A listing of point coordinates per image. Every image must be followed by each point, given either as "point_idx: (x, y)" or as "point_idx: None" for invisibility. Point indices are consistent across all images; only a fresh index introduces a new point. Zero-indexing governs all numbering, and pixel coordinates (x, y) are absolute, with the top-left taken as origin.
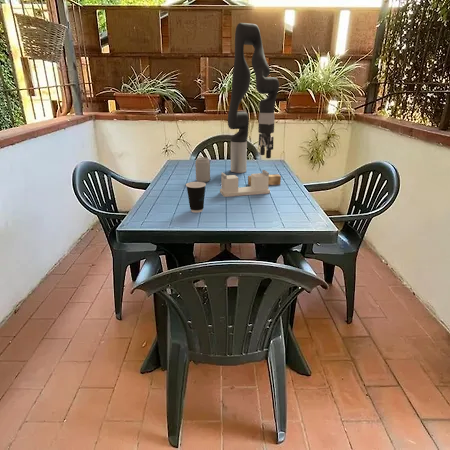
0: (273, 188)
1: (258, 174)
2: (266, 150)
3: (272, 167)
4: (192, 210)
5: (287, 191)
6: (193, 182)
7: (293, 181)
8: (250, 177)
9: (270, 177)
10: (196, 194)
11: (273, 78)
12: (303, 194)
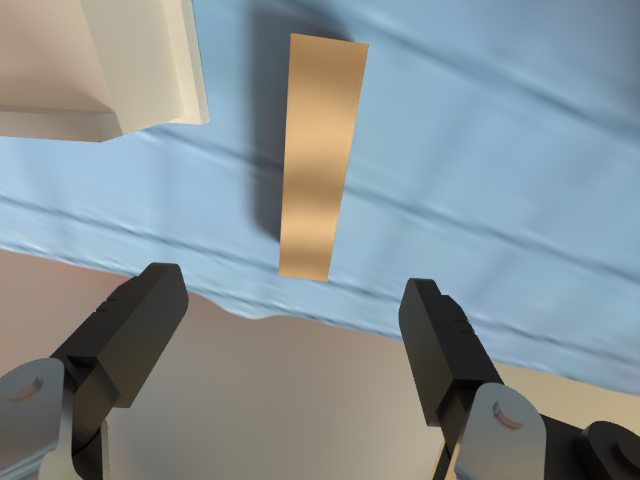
0: (210, 180)
1: (45, 39)
2: (89, 358)
3: (607, 339)
4: None
5: (149, 223)
6: None
7: (317, 312)
8: (296, 41)
9: (282, 215)
10: None
11: None
12: (102, 263)
